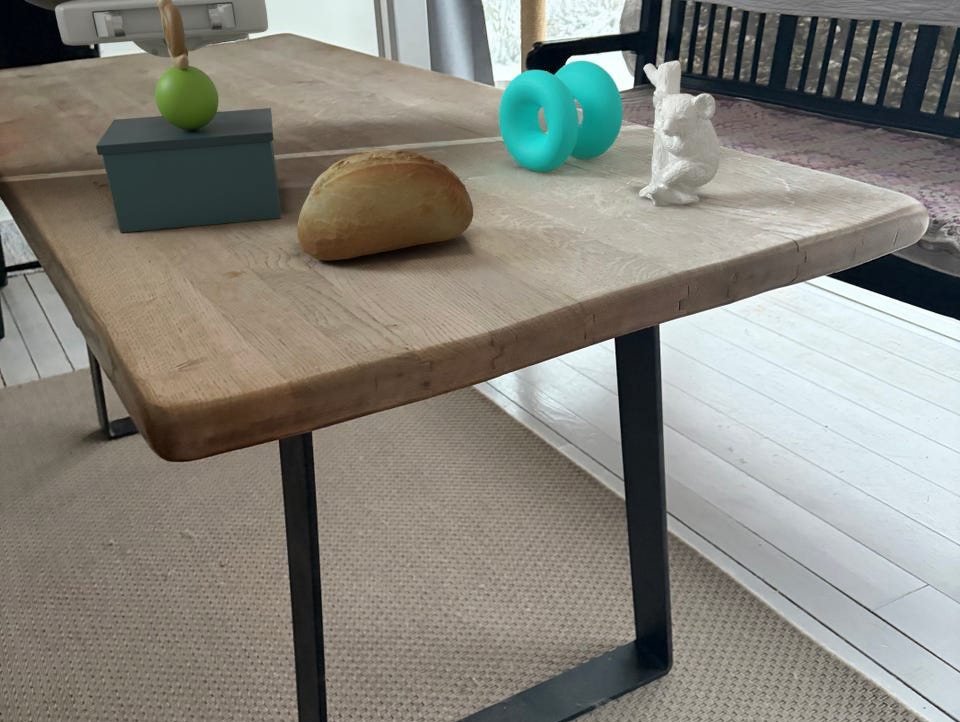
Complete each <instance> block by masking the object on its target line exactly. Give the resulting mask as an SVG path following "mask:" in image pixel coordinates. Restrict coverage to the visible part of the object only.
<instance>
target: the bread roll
mask: <svg viewBox="0 0 960 722" xmlns="http://www.w3.org/2000/svg"><path fill="white" fill-rule="evenodd" d="M473 218H474V207H473V202H472V200H471V196H470V194H469V192H468V190H467V188H466V185H465V184H464V183H463V182H462V181H461V179H460V177H459V176H458V175H457V174H456V173H454V171H452V170H451V169H450V168H449V167H448V166H447V165H446V164H444V163H442V162H440V161H439V160H437V159H436V158H433V157H430V156H427V155H424V154H421V153H417V152H414V151H409V150H399V149H379V150H371V151H365V152H361V153H356V154H354V155H351V156H348V157H345V158H343V159H340V160H339V161H336V162H334V163H333V164H331V165H330V166H329V167H328V168H327V169H325V170H324V171H323V172H321V174H320V175H319V176H318V177H317V179H315V181H314V183H313V185H312V186H311V188H310V190H309V192H308V195H307V197H306V199H305V201H304V203H303V205H302V207H301V210H300V212H299V215H298V221H297V224H296V229H297V232H296V234H297V241H298V244H299V245H300V246H301V251H302V252H304V253H305V254H307V255H308V256H310V257H311V258H313V259H316V260H320V261H338V260H349V259H353V258H357V257H362V256H369V255H373V254H378V253H384V252H390V251H394V250H400V249H404V248H410V247H415V246H418V245H424V244H425V245H426V244H429V243H430V244H431V243H436V242H437V243H439V242H444V241H445V242H446V241H449V240H452V239H455V238H457V237H459V236H462V234H463V233H465V231H467V229H468V228H470V225H471V223H472V222H473Z"/></svg>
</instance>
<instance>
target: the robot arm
mask: <svg viewBox="0 0 960 722" xmlns="http://www.w3.org/2000/svg"><path fill="white" fill-rule="evenodd" d="M24 1H25V2H27V3H29V4H31V5H33V6H36V7H39V8H43V9H45V10H50V11H54V12H55V17H56V21H57V27H58V30H59V34H60V38H61V42H62V43H63V44H64V45H66V46H87V45H99V44H100V45H101V44H113V43H114V44H117V43H127V42H128V43H129V42H133V43H134V44H135V46H136V47H138V48H139V49H140V50H142V51H144V52H146V53H148V54H150V55H152V56H155V57H160V58H171V57H170V55H169V52H168V47H167V43H166V40H165V36H164V32H163V27H162V21H161V13H160V10H159V7H158V4H157V1H158V0H24ZM171 1H172V4H174V5H176V6H177V7H178V9H179V11H180V13H181V17H182V21H183V27H184V34H185V44H186V47H187V50H188V52H195V51H196V50H199V49H202V48H205V47H207V46H210V45H217V44H218V45H219V44H224V43H230V42H237V41H241V40H246V39H248V38H249V35H251V34H261V33H265V32H267V31H268V29H269V21H268V20H269V19H268V11H267V10H268V9H267V5H266V0H171Z"/></svg>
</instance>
